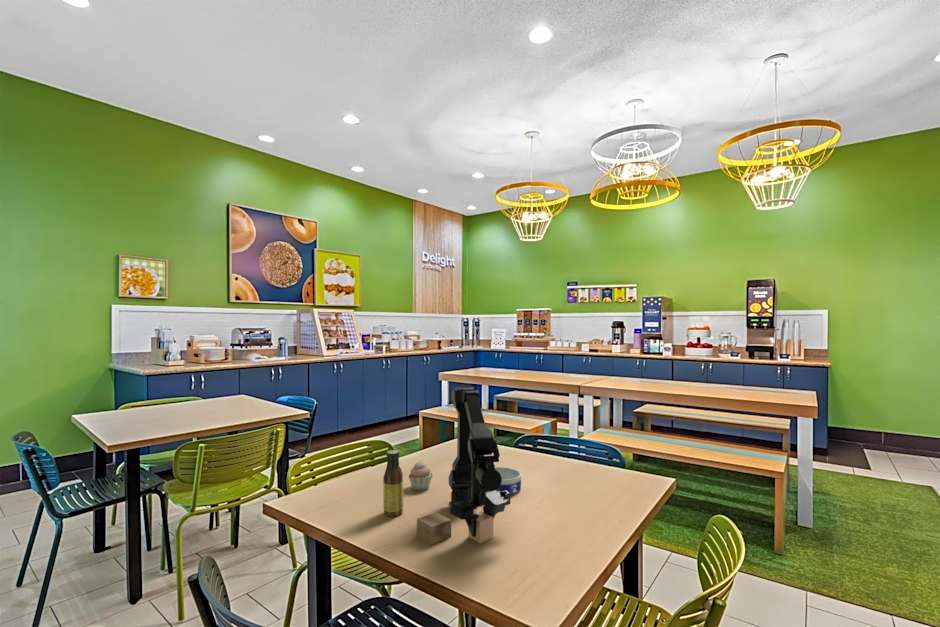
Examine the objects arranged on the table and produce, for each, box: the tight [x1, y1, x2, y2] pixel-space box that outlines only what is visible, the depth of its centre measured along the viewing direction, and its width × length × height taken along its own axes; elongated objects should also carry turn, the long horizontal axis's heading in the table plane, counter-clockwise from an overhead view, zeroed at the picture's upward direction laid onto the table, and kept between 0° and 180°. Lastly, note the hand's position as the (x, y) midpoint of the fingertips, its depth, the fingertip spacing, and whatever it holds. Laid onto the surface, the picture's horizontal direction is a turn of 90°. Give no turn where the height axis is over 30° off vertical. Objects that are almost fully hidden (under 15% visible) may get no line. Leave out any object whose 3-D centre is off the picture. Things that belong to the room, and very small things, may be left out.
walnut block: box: [416, 511, 452, 545], centre depth 132 cm, size 7×7×5 cm
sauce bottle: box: [382, 449, 404, 517], centre depth 148 cm, size 7×6×20 cm
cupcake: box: [407, 460, 434, 491], centre depth 171 cm, size 9×9×10 cm
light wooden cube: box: [468, 510, 494, 544], centre depth 132 cm, size 5×5×6 cm
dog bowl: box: [495, 466, 522, 496], centre depth 171 cm, size 15×15×6 cm
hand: (480, 533), depth 132 cm, fingers closed on light wooden cube, 5 cm apart
